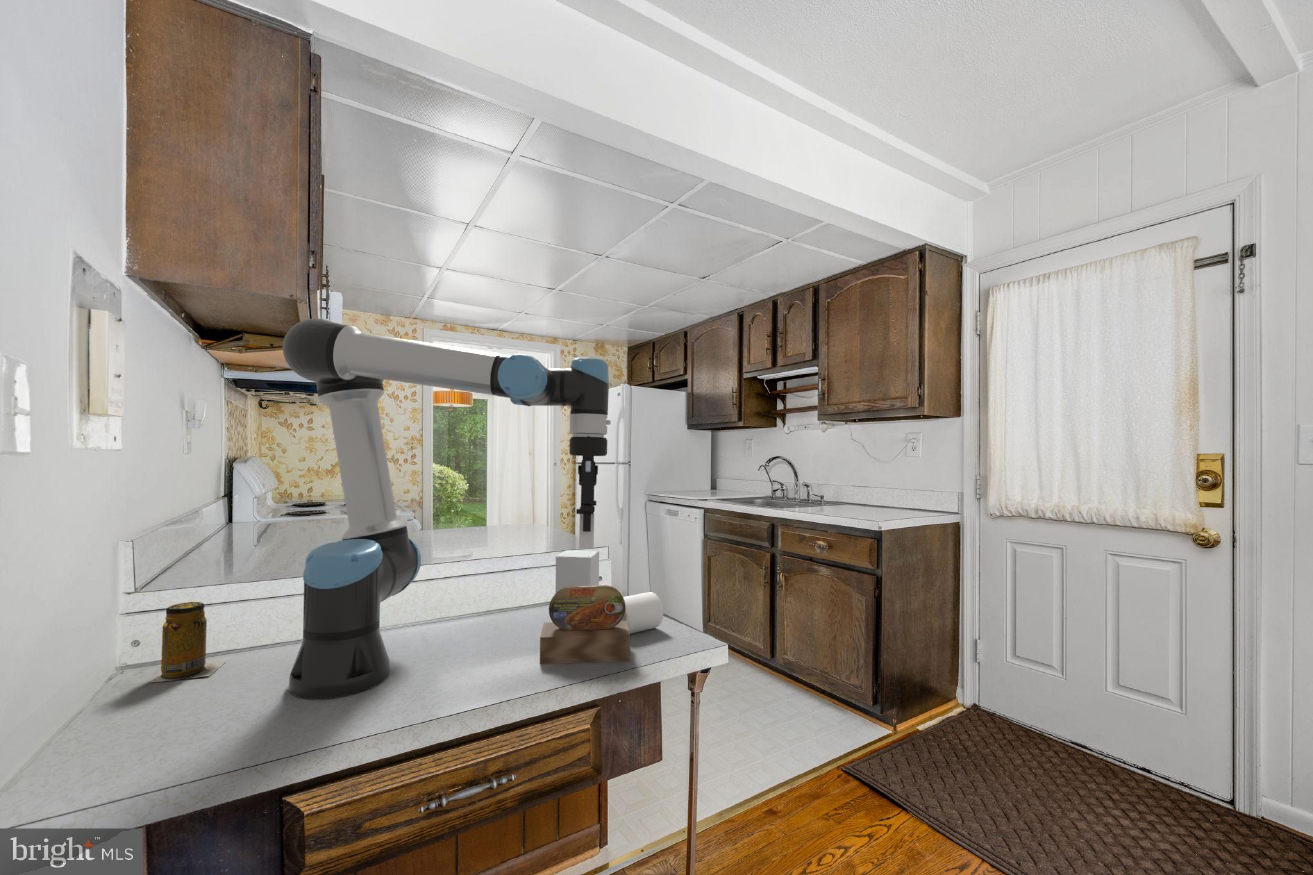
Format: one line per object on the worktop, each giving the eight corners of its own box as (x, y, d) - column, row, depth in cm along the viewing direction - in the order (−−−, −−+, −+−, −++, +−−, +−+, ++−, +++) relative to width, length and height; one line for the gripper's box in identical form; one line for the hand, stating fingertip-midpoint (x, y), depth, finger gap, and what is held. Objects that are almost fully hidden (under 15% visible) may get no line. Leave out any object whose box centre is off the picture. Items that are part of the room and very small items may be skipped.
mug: (663, 631, 125) (664, 595, 126) (628, 640, 119) (628, 603, 119) (631, 618, 135) (632, 585, 135) (596, 626, 128) (597, 591, 129)
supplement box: (599, 609, 141) (600, 550, 141) (590, 620, 132) (591, 557, 133) (565, 607, 142) (566, 549, 143) (553, 618, 134) (555, 555, 134)
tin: (548, 631, 109) (549, 588, 109) (549, 626, 112) (550, 584, 112) (625, 629, 111) (625, 586, 111) (624, 624, 114) (625, 583, 114)
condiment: (170, 667, 101) (172, 601, 102) (225, 662, 104) (227, 597, 104) (148, 683, 94) (150, 612, 95) (208, 677, 97) (210, 608, 97)
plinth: (539, 663, 105) (540, 637, 105) (543, 647, 114) (543, 622, 114) (629, 660, 107) (629, 634, 107) (626, 644, 116) (626, 620, 116)
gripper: (609, 435, 100) (607, 554, 99) (605, 437, 125) (603, 532, 124) (567, 434, 99) (564, 554, 98) (571, 436, 124) (569, 532, 123)
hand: (586, 542), depth 111 cm, fingers open, 13 cm apart
